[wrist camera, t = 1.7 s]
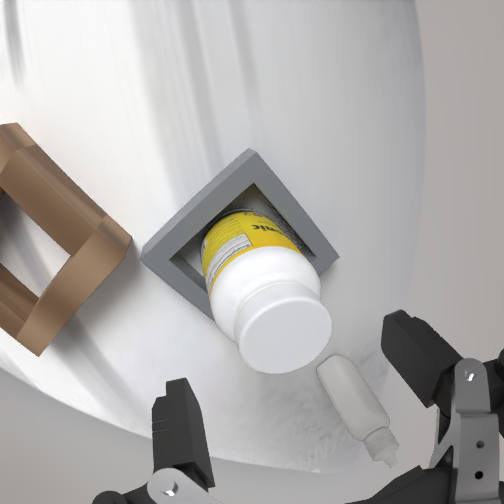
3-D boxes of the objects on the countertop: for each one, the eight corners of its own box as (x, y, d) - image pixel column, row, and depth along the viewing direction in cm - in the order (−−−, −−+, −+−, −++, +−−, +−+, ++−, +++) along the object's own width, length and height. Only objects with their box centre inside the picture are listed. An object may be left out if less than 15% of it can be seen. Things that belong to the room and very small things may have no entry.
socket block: (17, 122, 14) (-7, 125, 11) (131, 236, 19) (125, 256, 16) (-48, 241, 15) (-68, 258, 12) (49, 331, 20) (38, 357, 17)
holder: (248, 148, 18) (256, 151, 16) (327, 244, 22) (339, 256, 21) (142, 246, 19) (139, 260, 18) (234, 323, 23) (239, 340, 22)
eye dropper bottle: (318, 393, 30) (366, 486, 19) (313, 360, 27) (372, 466, 17) (355, 378, 30) (410, 464, 20) (355, 343, 28) (423, 438, 17)
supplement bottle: (294, 245, 22) (367, 331, 13) (236, 294, 22) (274, 401, 14) (245, 188, 19) (304, 255, 11) (181, 245, 20) (190, 349, 11)
